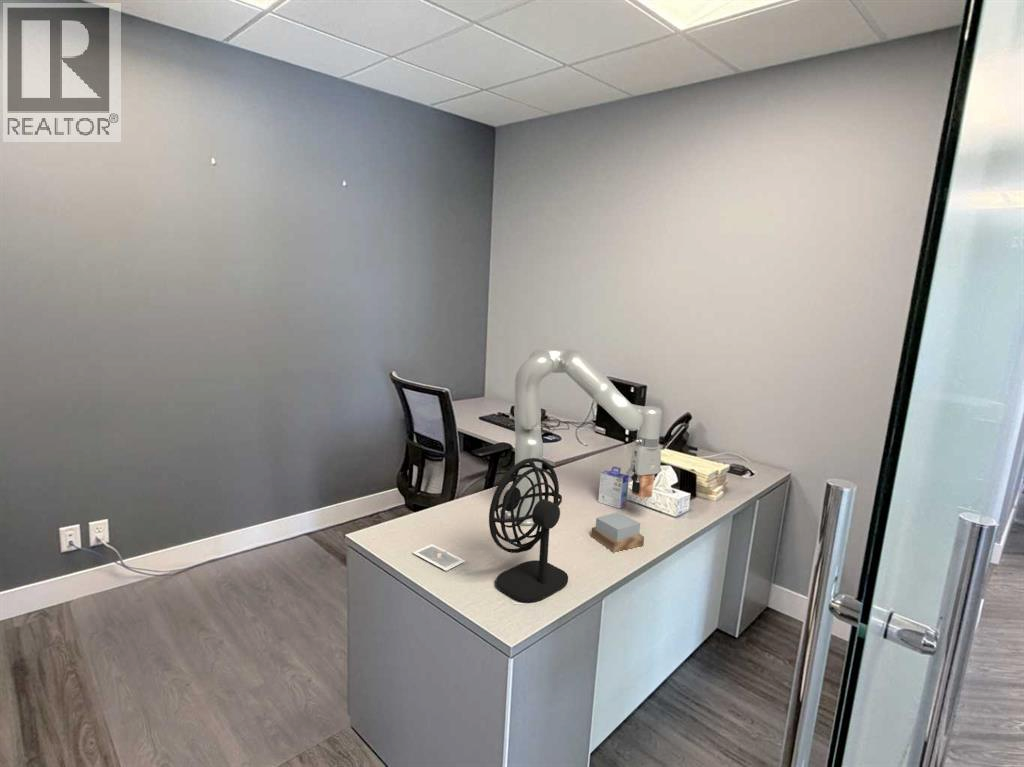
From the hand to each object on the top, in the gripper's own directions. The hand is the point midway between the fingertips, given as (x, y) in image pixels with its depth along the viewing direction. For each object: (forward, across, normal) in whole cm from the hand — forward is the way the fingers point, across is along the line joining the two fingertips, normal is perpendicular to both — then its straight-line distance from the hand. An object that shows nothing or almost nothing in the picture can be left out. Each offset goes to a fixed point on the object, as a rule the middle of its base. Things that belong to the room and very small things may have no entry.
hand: (641, 490), depth 190 cm
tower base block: (+13, -16, -9) cm, 23 cm away
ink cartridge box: (+13, +2, +18) cm, 22 cm away
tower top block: (+9, -16, -9) cm, 21 cm away
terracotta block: (+2, 0, 0) cm, 2 cm away
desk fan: (+13, -54, -20) cm, 59 cm away
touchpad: (+14, -74, +1) cm, 75 cm away
